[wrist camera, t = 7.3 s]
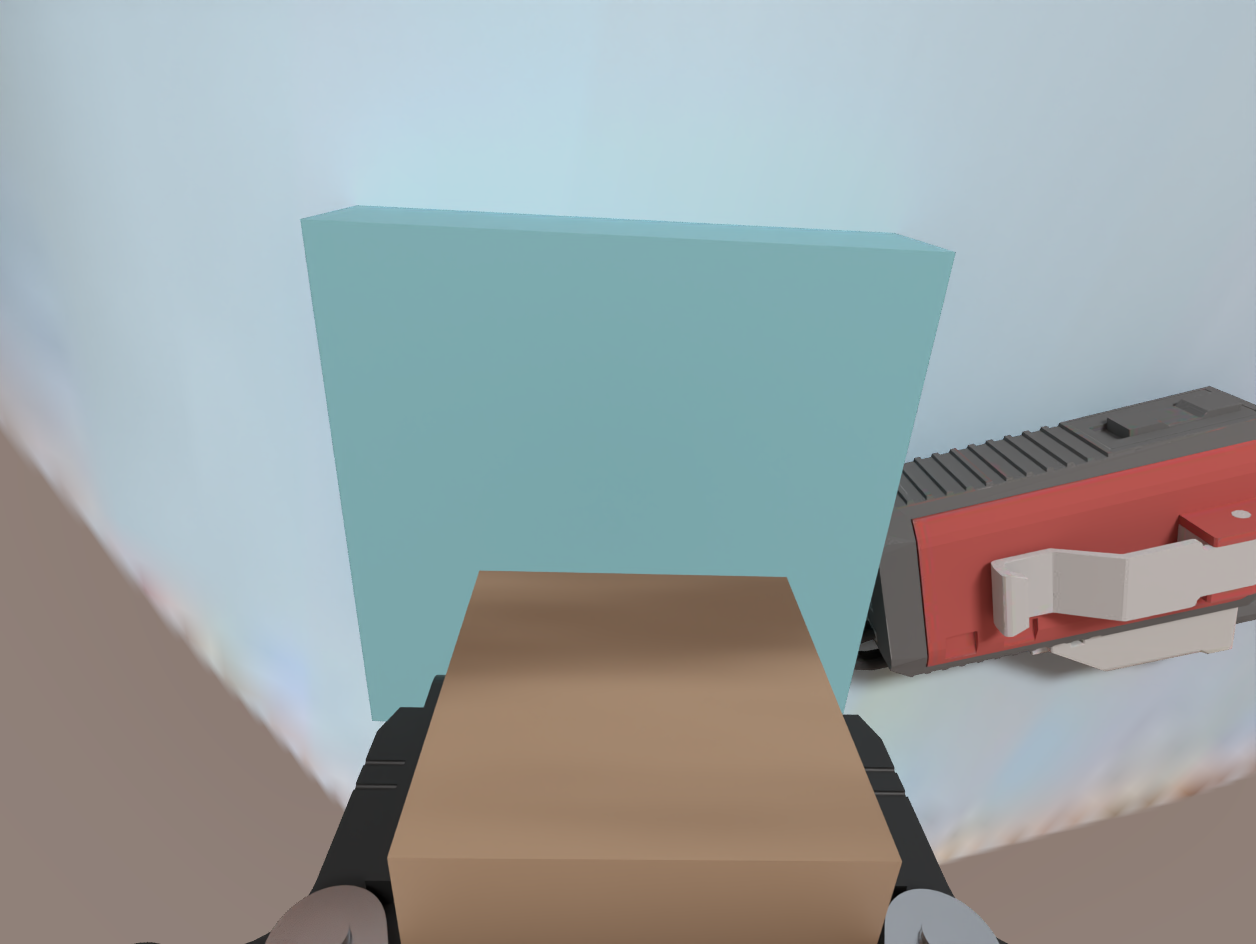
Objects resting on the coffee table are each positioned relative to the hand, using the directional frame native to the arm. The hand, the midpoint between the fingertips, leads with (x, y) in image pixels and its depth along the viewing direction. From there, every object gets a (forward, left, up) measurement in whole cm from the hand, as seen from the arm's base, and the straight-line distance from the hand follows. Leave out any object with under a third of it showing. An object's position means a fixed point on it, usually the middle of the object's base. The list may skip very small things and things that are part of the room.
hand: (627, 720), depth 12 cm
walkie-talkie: (+2, +17, -11) cm, 20 cm away
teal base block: (0, 0, -11) cm, 11 cm away
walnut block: (0, 0, -1) cm, 1 cm away
